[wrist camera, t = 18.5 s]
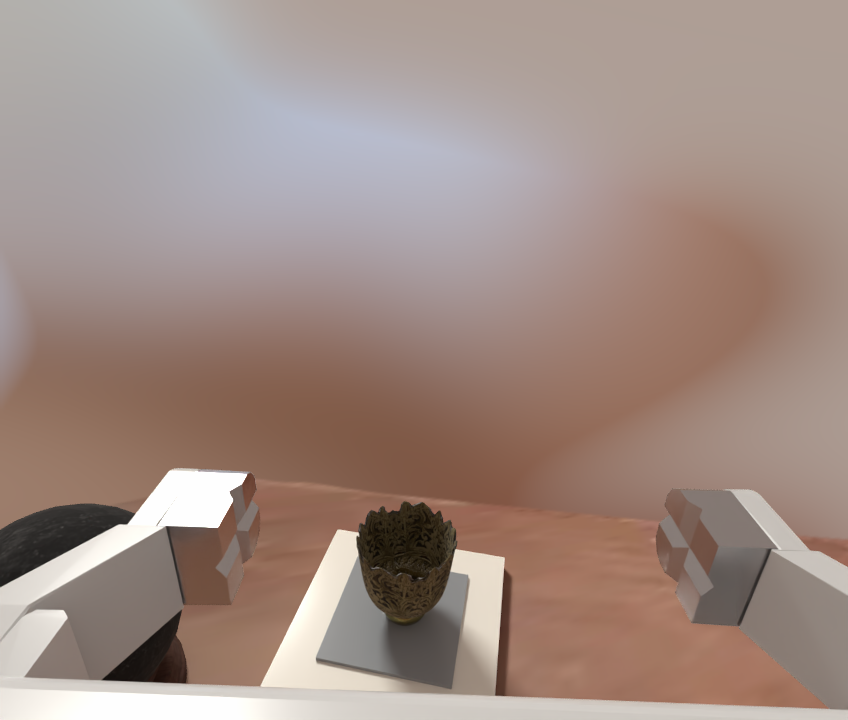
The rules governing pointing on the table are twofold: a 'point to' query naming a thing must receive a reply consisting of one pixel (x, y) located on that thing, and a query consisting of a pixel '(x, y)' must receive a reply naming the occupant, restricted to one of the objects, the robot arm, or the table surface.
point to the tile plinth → (393, 632)
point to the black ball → (65, 530)
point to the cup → (406, 560)
